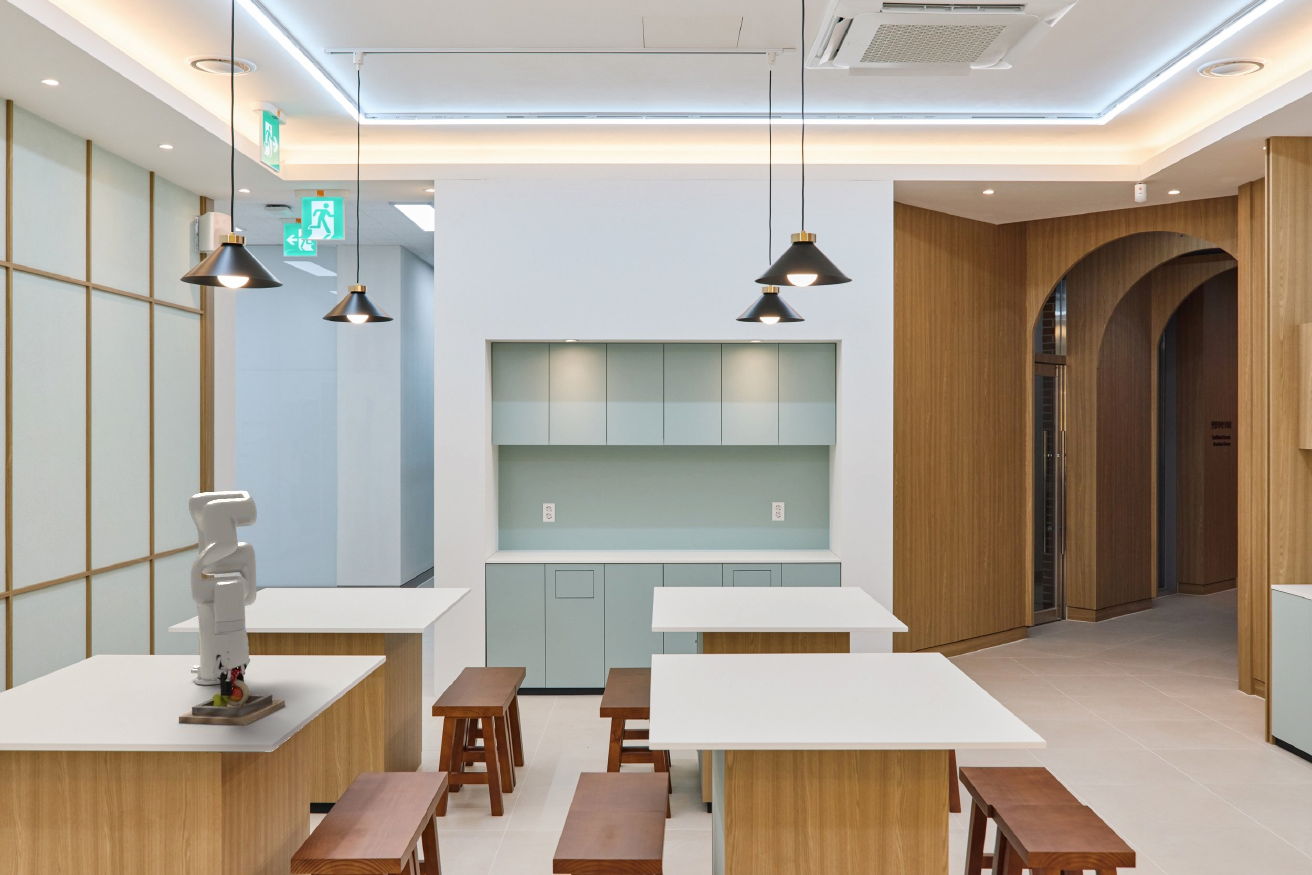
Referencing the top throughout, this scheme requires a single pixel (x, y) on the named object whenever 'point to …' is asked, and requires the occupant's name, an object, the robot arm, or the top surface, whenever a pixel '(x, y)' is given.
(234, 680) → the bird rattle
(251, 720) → the wooden tray
